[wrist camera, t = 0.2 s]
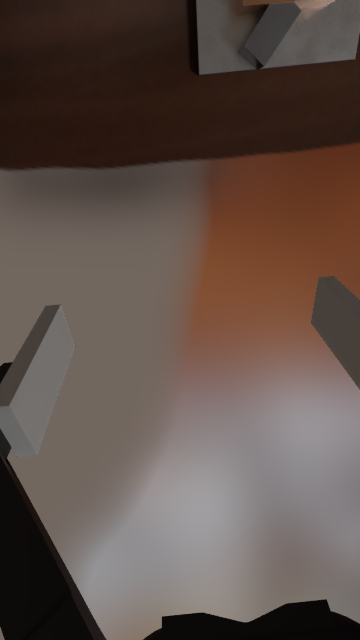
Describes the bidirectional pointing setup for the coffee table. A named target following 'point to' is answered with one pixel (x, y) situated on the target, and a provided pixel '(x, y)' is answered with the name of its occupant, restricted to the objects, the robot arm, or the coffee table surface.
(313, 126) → the coffee table surface
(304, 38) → the coupling base
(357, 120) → the coffee table surface
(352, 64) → the coffee table surface
